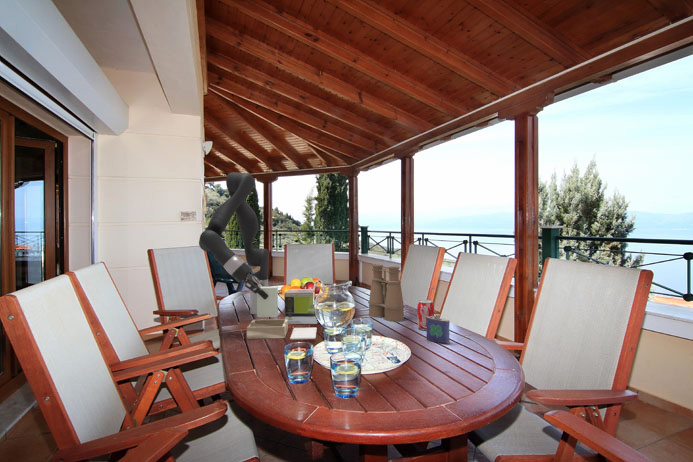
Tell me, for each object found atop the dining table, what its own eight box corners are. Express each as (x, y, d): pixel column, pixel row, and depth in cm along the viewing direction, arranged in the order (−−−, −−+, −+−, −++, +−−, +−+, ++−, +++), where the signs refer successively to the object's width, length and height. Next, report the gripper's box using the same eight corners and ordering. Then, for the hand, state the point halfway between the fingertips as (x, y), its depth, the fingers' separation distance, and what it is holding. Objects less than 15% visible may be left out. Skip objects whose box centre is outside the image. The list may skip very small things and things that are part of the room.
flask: (450, 343, 135) (450, 315, 135) (447, 345, 133) (447, 316, 132) (428, 338, 141) (428, 311, 140) (424, 340, 138) (424, 313, 138)
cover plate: (258, 315, 150) (258, 286, 150) (277, 314, 150) (277, 286, 150) (257, 317, 147) (256, 288, 147) (276, 316, 147) (276, 287, 147)
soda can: (416, 330, 152) (415, 302, 151) (419, 325, 158) (418, 298, 158) (432, 332, 149) (432, 303, 149) (435, 327, 156) (435, 300, 155)
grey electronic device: (320, 319, 172) (320, 288, 171) (316, 324, 162) (316, 292, 161) (290, 318, 173) (289, 288, 173) (284, 324, 163) (283, 292, 163)
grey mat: (293, 329, 155) (293, 327, 155) (316, 328, 156) (316, 327, 156) (290, 339, 141) (290, 338, 141) (315, 338, 142) (315, 337, 142)
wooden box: (253, 330, 154) (253, 319, 154) (288, 329, 155) (288, 318, 155) (246, 338, 142) (246, 327, 142) (284, 337, 143) (284, 326, 143)
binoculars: (364, 314, 179) (363, 265, 178) (378, 311, 185) (377, 263, 185) (395, 323, 163) (394, 268, 162) (409, 319, 169) (408, 266, 169)
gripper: (239, 263, 141) (271, 294, 142) (247, 259, 155) (276, 287, 156) (226, 277, 141) (257, 307, 142) (235, 272, 155) (264, 299, 156)
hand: (267, 296), depth 149 cm, fingers closed on cover plate, 3 cm apart
